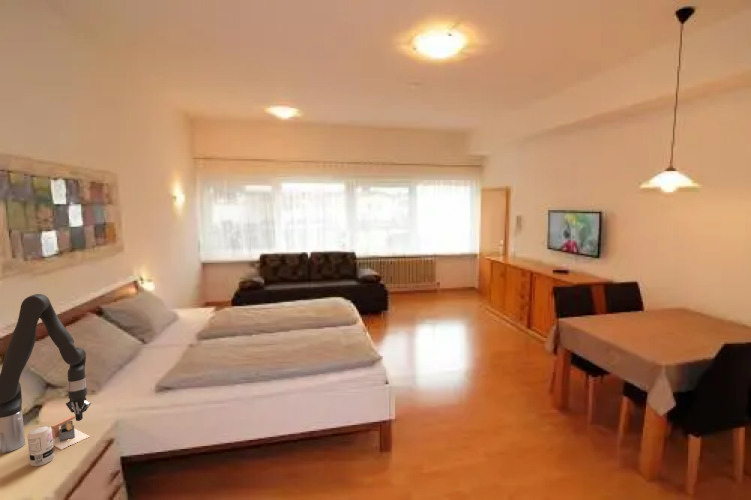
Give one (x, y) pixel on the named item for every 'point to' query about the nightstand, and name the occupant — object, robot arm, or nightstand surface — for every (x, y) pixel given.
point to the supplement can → (40, 445)
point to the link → (66, 432)
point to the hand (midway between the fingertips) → (79, 420)
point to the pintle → (68, 426)
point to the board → (78, 437)
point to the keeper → (56, 426)
